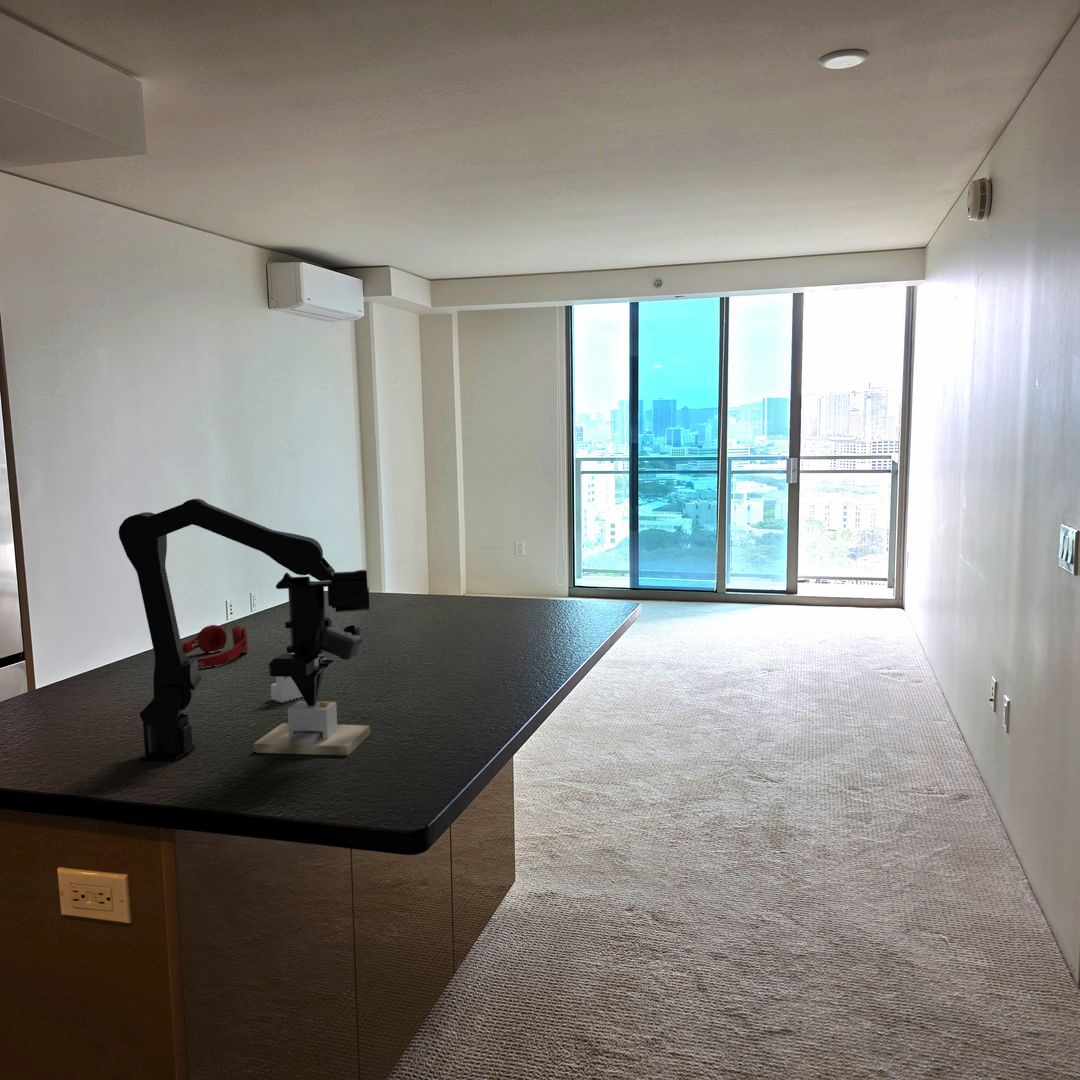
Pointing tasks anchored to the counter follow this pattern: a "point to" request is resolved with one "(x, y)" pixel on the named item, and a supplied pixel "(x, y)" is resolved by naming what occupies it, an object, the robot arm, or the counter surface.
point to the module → (313, 718)
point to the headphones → (218, 644)
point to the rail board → (312, 741)
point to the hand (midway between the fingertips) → (311, 705)
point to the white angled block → (284, 689)
